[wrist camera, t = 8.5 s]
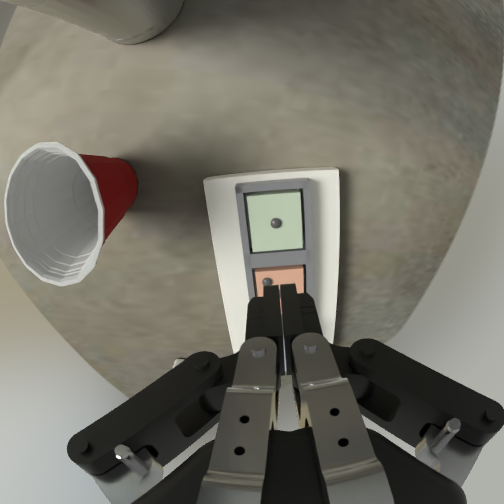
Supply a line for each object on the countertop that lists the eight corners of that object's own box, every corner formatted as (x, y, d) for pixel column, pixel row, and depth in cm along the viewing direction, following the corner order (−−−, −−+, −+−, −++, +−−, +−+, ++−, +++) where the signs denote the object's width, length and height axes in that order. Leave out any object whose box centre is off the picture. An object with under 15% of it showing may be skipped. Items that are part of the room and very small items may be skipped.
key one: (247, 192, 24) (246, 196, 22) (297, 188, 24) (300, 192, 22) (253, 245, 26) (252, 252, 24) (300, 241, 26) (302, 248, 24)
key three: (255, 264, 27) (254, 273, 25) (301, 261, 26) (303, 269, 25) (260, 307, 29) (259, 316, 27) (302, 303, 28) (303, 313, 27)
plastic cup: (175, 146, 24) (113, 161, 14) (149, 244, 29) (95, 307, 18) (87, 123, 23) (6, 132, 12) (71, 213, 28) (3, 257, 17)
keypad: (207, 177, 26) (199, 183, 22) (333, 166, 25) (343, 171, 22) (236, 351, 35) (234, 370, 31) (329, 344, 34) (333, 363, 31)
